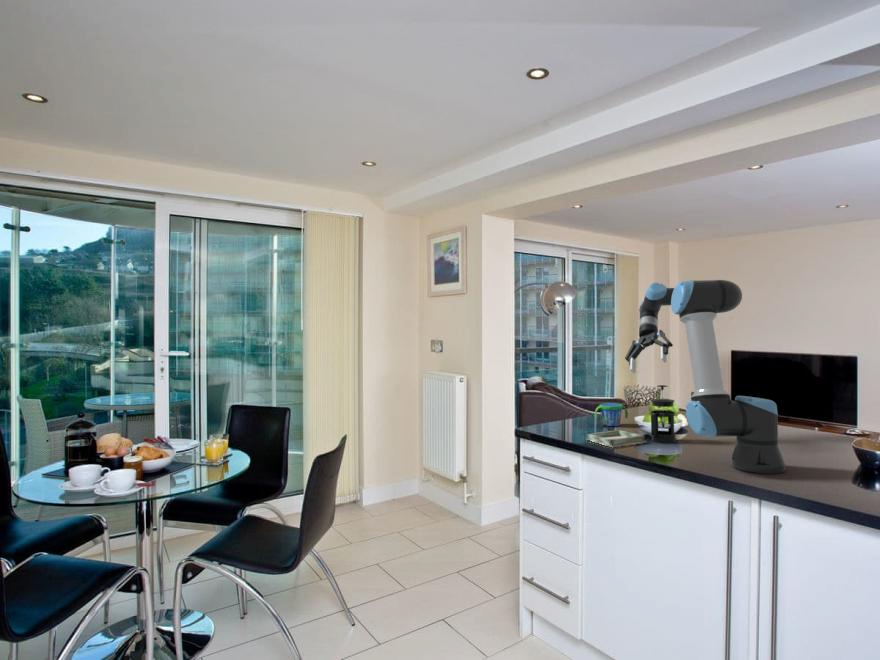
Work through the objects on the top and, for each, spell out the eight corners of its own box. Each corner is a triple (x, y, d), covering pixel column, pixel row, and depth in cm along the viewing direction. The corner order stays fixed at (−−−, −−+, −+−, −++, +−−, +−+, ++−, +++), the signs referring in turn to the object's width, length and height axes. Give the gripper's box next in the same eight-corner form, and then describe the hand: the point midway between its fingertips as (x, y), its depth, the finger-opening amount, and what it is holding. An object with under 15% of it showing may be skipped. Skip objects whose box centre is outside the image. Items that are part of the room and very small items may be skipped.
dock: (646, 443, 206) (646, 436, 206) (612, 448, 199) (612, 440, 199) (617, 436, 221) (617, 429, 221) (585, 440, 213) (584, 433, 213)
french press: (662, 437, 217) (660, 383, 217) (682, 441, 209) (680, 385, 209) (643, 440, 211) (642, 385, 211) (663, 444, 203) (661, 387, 203)
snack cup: (597, 428, 241) (596, 406, 241) (592, 423, 251) (592, 403, 251) (631, 427, 239) (630, 406, 239) (625, 423, 250) (624, 402, 250)
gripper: (680, 323, 212) (682, 361, 199) (627, 344, 229) (626, 380, 215) (670, 312, 210) (672, 350, 196) (618, 334, 226) (615, 370, 213)
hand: (647, 366), depth 206 cm, fingers open, 13 cm apart
